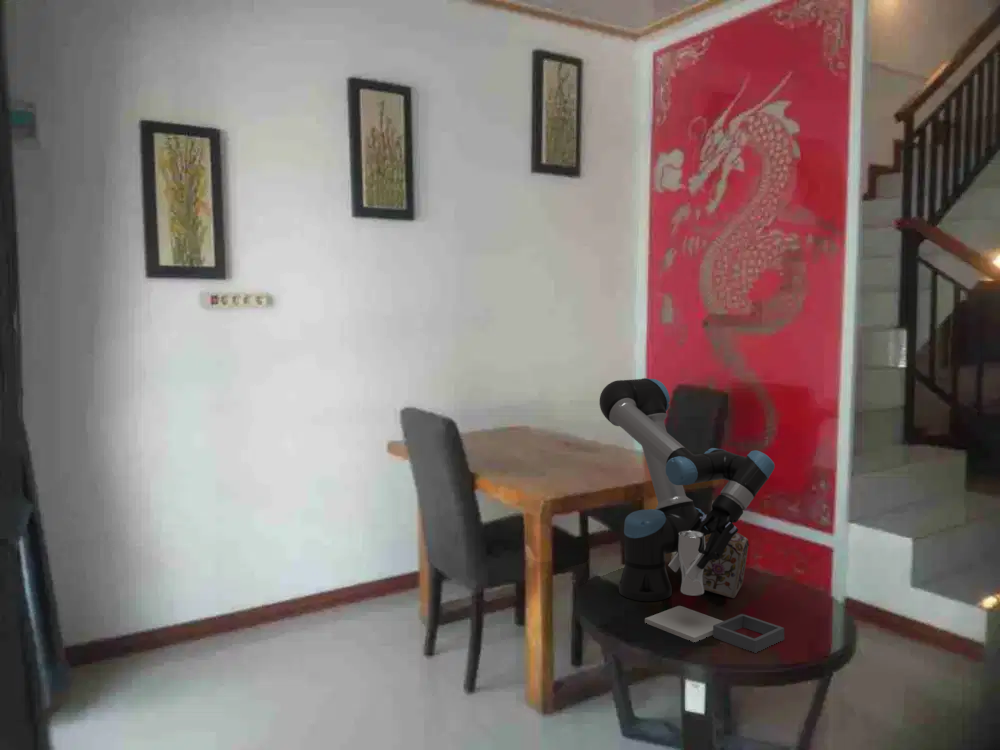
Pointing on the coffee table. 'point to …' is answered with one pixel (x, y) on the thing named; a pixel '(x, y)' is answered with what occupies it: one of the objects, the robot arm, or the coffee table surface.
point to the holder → (728, 634)
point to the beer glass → (690, 560)
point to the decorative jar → (727, 568)
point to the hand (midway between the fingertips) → (680, 572)
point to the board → (684, 623)
